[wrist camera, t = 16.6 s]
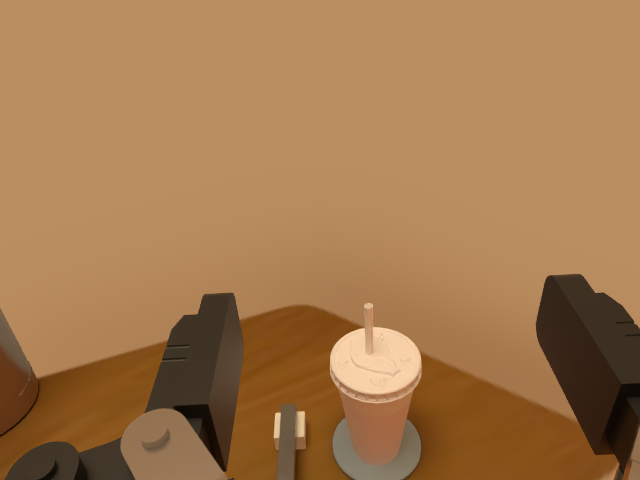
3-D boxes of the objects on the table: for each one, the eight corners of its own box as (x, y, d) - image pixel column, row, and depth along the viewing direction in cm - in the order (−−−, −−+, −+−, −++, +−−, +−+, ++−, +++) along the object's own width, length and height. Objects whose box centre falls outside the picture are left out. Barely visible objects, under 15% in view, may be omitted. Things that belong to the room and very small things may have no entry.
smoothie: (374, 398, 46) (373, 268, 38) (434, 445, 41) (445, 309, 34) (319, 443, 42) (305, 310, 34) (378, 499, 38) (376, 361, 30)
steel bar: (293, 554, 34) (291, 544, 33) (274, 555, 34) (272, 545, 33) (297, 413, 43) (296, 404, 43) (282, 414, 43) (281, 404, 43)
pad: (349, 499, 39) (349, 496, 38) (321, 423, 44) (321, 420, 44) (436, 470, 40) (436, 467, 40) (399, 400, 46) (399, 397, 45)
